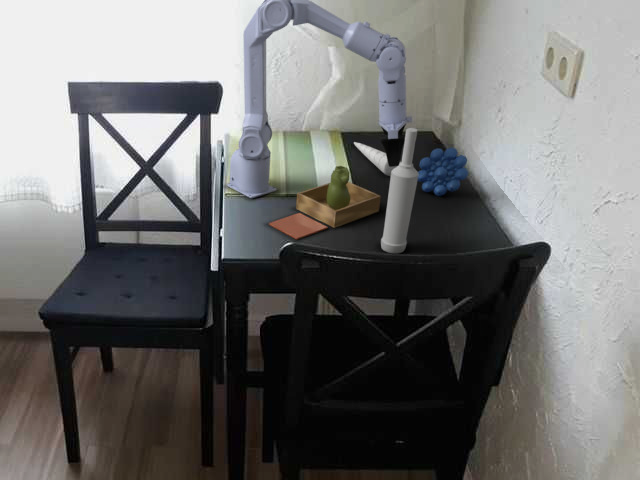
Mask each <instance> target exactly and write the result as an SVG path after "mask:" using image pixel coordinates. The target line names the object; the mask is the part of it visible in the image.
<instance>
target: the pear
mask: <svg viewBox="0 0 640 480" xmlns="http://www.w3.org/2000/svg"><path fill="white" fill-rule="evenodd" d="M349 180H350V171H349V169H348V167H345V166H343V165H336V166H335V168H334V170H333V171H332V173H331V175H330V182H329V183H330V184H329V186H328V191H327V203H328V205H329V207H331V208H332V209H334V210H338V209H341V208H344V207H347V206H348V205H349V203H350V194H349V191H348V188H347V186H346V184H347V183H348V182H350V181H349Z"/></svg>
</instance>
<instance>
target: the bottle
mask: <svg viewBox="0 0 640 480" xmlns="http://www.w3.org/2000/svg"><path fill="white" fill-rule="evenodd" d="M405 129H406V130H405V134H404V135H405V143H404V145H403V148H402V154H401V161H400V162H401V163H399V166H397V167H396V168H394V169H393V170H392V171H391V176H390V178H389V179H390V180H389V188H388V196H387V203H386V211H385V219H384V225H383V226H384V227H383V234H382V237H381V239H380V247H381V250H383V251H384V252H387V253H390V254H401V253H404V251H405V250H406V247H407V245H408V240H407V237H408V236H407V235H408V232H409V227H410V221H411V217H412V216H411V215H412V211H413V205H414V200H415V195H416V190H417V185H418V175H419V174H418V172H419V171H417V170H416V168H415V167H414V163H413V158H414V153H415V147H416V146H415V145H416V140H417V136H418V129H417V128H414V127H408V128H405Z"/></svg>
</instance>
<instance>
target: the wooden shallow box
mask: <svg viewBox="0 0 640 480" xmlns="http://www.w3.org/2000/svg"><path fill="white" fill-rule="evenodd" d="M329 184H330V182H328V183H325V184H322V185H319V186H315V187H312V188H309V189H306V190H303V191H300V192H297V193H296V201H295V202H296V203H295V204H296V205H295V209H296V210H298V212H299V211H300V212H301V213H302V214H306V215H308V217H310V218H313V219H314V220H317V221H318V222H319V221H320V222H321V223H322V224H326V225H328V226H329V227H332V228H334V229H335V228H337V227H341V226H344V225H346V224H348V223H352V222H354V221H357V220H359V219H362V218H365V217H368V216H370V215H373V214H376V213H379V212H380V205H381V197H382V196H381V195H379V194H377V193H376V192H373V191H370V190H368V189H366V188H364V187H361V186H359V185H357V184H354V183H352V182H350V181H348V183H347V184H346V186H347V188H348V191H349V194H350V203H349V205H348V206H347V207H344V208H341V209H338V210H334V209H332V208H331V207H329V205H328V203H327V191H328V186H329Z"/></svg>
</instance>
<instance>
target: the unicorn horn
mask: <svg viewBox="0 0 640 480" xmlns="http://www.w3.org/2000/svg"><path fill="white" fill-rule="evenodd" d="M353 144H354V146H355V147H356V148H357V150H358V151H360V152H361V153H362V154H363V156H364V157H366V158H367V159H368V160H369V161H370V162H371V163H372V164H373V165H374V166H376V168H378V170H379V171H381V172H382V173H383V174H384V175H385V176H387V177H391V171H392V170H393V169H394V168H396V167H397V166H394V167H389V164H388V161H387V156H386V152H384V151H381V150H379V149H376V148H374V147H372V146H369V145H366V144H364V143H360V142H356V141H354V142H353ZM401 162H402V161H400V163H401Z"/></svg>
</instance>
